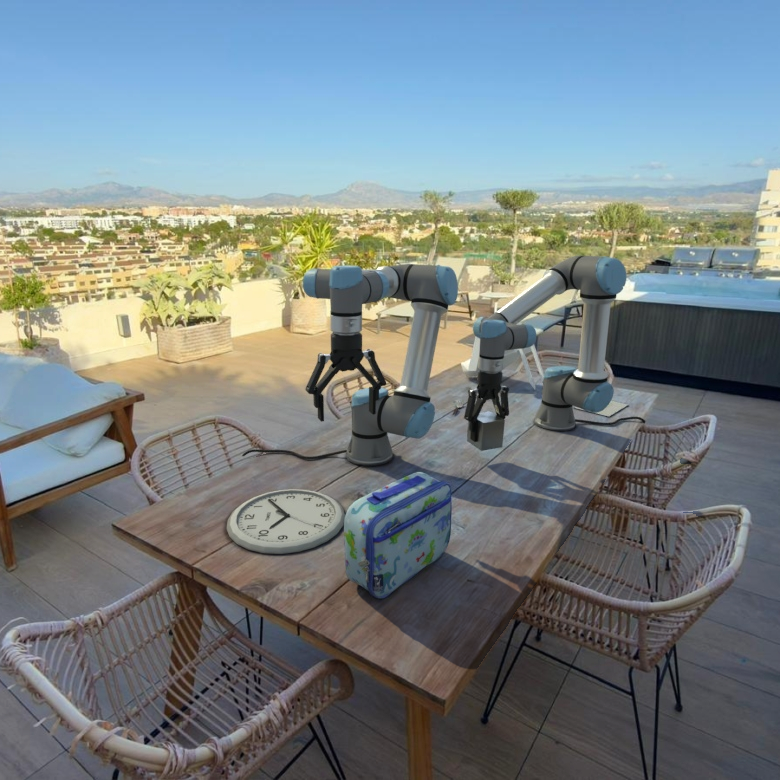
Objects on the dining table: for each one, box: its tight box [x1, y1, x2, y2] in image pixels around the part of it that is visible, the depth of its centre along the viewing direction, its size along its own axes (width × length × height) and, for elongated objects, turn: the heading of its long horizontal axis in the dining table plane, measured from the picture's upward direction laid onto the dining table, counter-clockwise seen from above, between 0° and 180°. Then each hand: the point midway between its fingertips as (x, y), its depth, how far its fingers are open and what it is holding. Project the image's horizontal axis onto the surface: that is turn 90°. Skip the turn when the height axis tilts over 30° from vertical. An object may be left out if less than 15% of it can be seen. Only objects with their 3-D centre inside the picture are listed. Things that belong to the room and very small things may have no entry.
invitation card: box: [573, 400, 629, 418], centre depth 226 cm, size 21×1×15 cm
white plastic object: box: [460, 321, 545, 391], centre depth 259 cm, size 37×45×31 cm
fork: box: [452, 399, 465, 416], centre depth 218 cm, size 3×16×2 cm, turn 160°
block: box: [466, 410, 506, 452], centre depth 168 cm, size 8×8×9 cm
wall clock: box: [226, 488, 346, 555], centre depth 135 cm, size 30×2×30 cm
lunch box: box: [343, 471, 453, 599], centre depth 113 cm, size 26×11×21 cm, turn 134°
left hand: (347, 416), depth 131 cm, fingers open, 13 cm apart
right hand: (484, 438), depth 169 cm, fingers closed on block, 8 cm apart
